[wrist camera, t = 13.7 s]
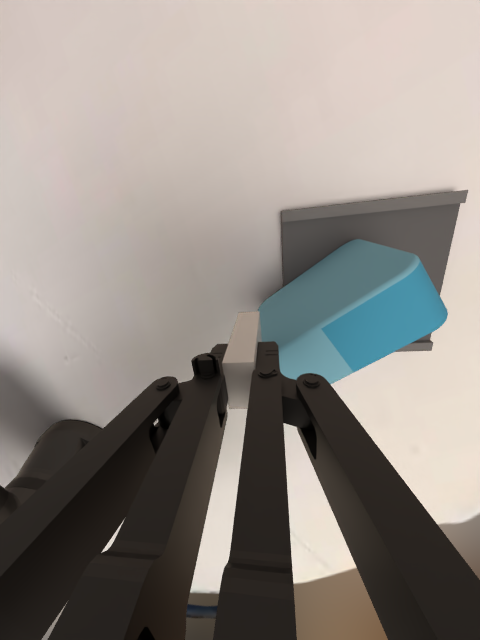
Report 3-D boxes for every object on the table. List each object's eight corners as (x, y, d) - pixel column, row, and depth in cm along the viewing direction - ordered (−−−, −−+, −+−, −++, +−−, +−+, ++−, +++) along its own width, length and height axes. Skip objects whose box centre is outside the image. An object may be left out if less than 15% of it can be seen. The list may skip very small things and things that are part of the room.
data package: (280, 333, 29) (290, 407, 18) (257, 305, 27) (252, 365, 17) (375, 272, 25) (463, 318, 14) (353, 236, 24) (431, 256, 13)
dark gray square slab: (285, 347, 31) (286, 354, 29) (280, 211, 25) (281, 211, 23) (421, 343, 28) (431, 350, 27) (453, 192, 22) (468, 189, 21)
